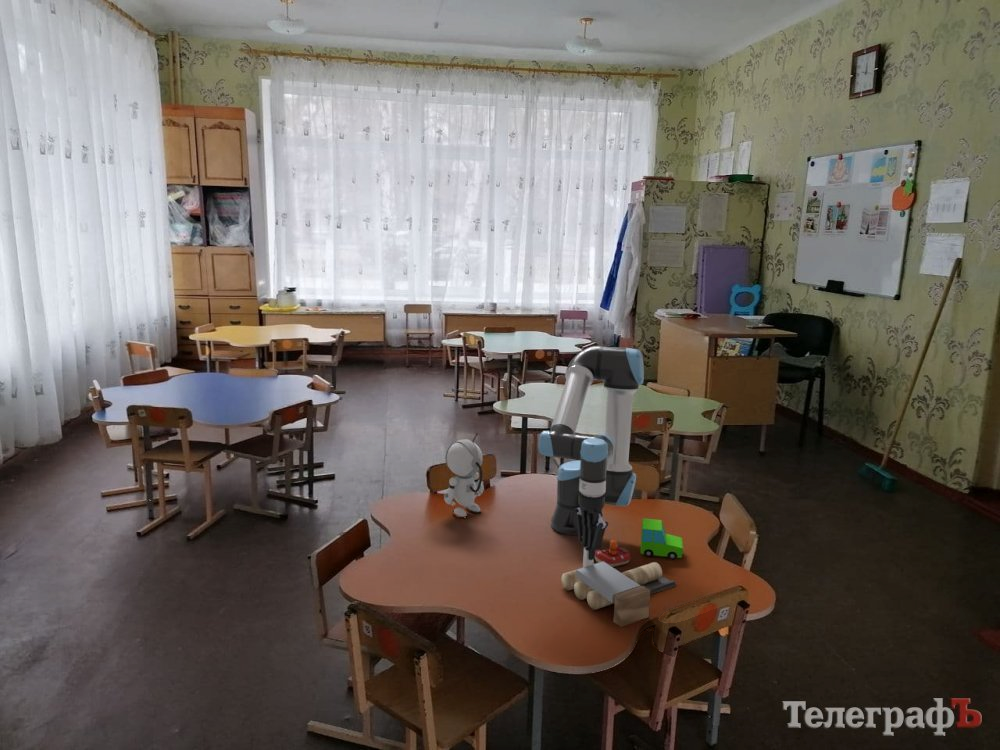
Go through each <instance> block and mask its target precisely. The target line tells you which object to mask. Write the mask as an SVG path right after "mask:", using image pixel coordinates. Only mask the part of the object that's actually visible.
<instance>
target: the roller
mask: <svg viewBox="0 0 1000 750" xmlns="http://www.w3.org/2000/svg"><path fill="white" fill-rule="evenodd" d="M621 573H622V574H624V575H625V576H627V577H628V578H630V579H631V580H633V581H634V582H636V583H637V584H639V585H642V584H645V583H648V582H651V581H654V580H657V579H660V578H661V577H662V576H663V569H662V566H661V565H660V564H659V563H658V562H657V561H655V562H653V561H652V562H650V563H648V564H644V565H641V566H638V567H634V568H632V569H629V570H625V571H623V572H621Z"/></svg>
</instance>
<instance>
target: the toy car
mask: <svg viewBox="0 0 1000 750" xmlns="http://www.w3.org/2000/svg"><path fill="white" fill-rule="evenodd" d="M641 520H642V521H641V523H642V524H641V538H640V555H643V556H644V557H645V558H649V559H650V558H652V557H653V556H657V557H667V559H669V561H675V560H677V559H679V558H680V559H682V558H683V553H684V546H683V543H684V541H683V538H682V537H681V536H677V535H673V534H668V533H666V530H665V527H664V524H663V522H662V519H653V518H652V519H651V518H642V519H641Z"/></svg>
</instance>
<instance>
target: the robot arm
mask: <svg viewBox="0 0 1000 750" xmlns="http://www.w3.org/2000/svg"><path fill="white" fill-rule="evenodd" d="M644 365H645V364H644V358H643V354H642V351H640V350H639V349H636V348H630V347H618V346H602V345H593V346H589V347H587V348H584V349H583V350H581V351H580V352H579V353H577V354H576V355H575V356H574V357H573V358H572V359H571V361H570V362H569V364H568V366H567V367H566V370H565V372H564V373H565V374H564V377H565V379H566V380H565V384H564V386H563V389H562V393H561V395H560V397H559V398H560V399H559V401H558V405H557V408H556V412H555V414H554V417H553V420H552V423H551V425H550V430H543V431H541V432H540V434H539V438H538V445H537V446H538V452H539V454H540V455H542V456H546V457H550V458H560V459H568V460H572V461H567V462H564V463H562V464H561V465H560V466H559V467H558V472H557V477H556V479H557V485H556V486H557V488H556V506H555V508H554V511H553V514H552V516H551V519H550V520H551V521H550V526H551V529H553V530H554V531H556V532H558V533H561V534H564V535H569V536H577V541H578V543H581V545H582V556H583V558H582V568H583V567H586V566H590V565H593V564H594V560H595V551H596V550H600V549H601V547H602V543H603V540H604V536H605V532H606V528H607V527H608V526H609V522H608V521H605V520H604V519H603V511H602V510H603V508H604V507H605V505H610V506H615V507H627V506H628V505H629V504H630V503H631V501H632V499H633V498H632V497H633V495H634V494H633V493H634V490H635V486H636V481H637V474H636V473H635V472H633V466H632V465H631V464H630V463H629V457H630V456H629V455H630V443H631V431H632V429H631V428H632V416H633V403H634V401H633V400H634V394H635V392H637V391H638V390H639V385H643V384H644V380H645V377H644V376H645V367H644ZM594 381H603V388H604V389H605V391H606V392H607V396H606V410H605V411H606V413H605V426H604V427H605V428H604V433H598V434H595V435H584V434H576V431H577V430H576V429H577V426H578V423H579V419H580V416H581V414H582V413H581V412H582V409H583V406H584V402H585V399H586V396H587V392H588V389H589V387H590V386H591V385H592V384H593V382H594Z"/></svg>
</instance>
